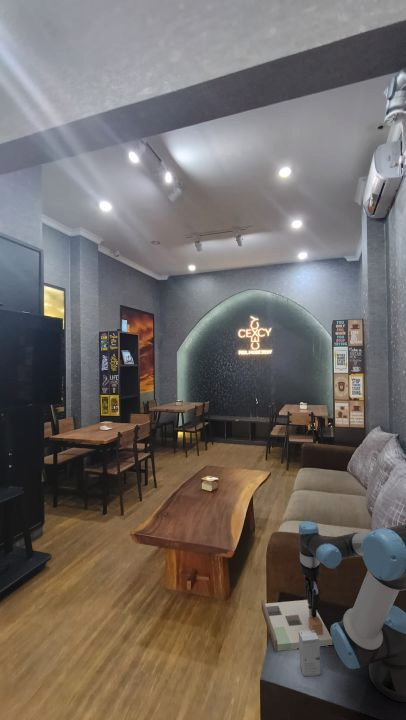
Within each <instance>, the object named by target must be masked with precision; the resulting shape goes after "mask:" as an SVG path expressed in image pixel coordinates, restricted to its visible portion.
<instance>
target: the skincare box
mask: <svg viewBox="0 0 406 720" xmlns="http://www.w3.org/2000/svg"><path fill="white" fill-rule="evenodd" d="M298 650H299V651H298V654H299V668H300V669H301V672H302V674H303V676H304V677H312V676H313V677H314V676H320V675H321V657H320V650H321V649H320V647H319V638H318V636H317V634H316V632H315V630H312V631H299V649H298Z"/></svg>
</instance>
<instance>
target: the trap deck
mask: <svg viewBox="0 0 406 720" xmlns="http://www.w3.org/2000/svg"><path fill="white" fill-rule="evenodd" d="M260 601H261V612H262V615H263V617H264V620H265V624H266V627H267V631H268V634H269V635H270V634H271V637H270V639H271V638H272V640H271V643H272V642H273V643H272V645H274V646H273V649H274V652H281V650H285V651H290V650H289V649H295V648H299V631H310V629H309V618H308V617H309V608H308V605H309V604H308V602H307V601H308V600H307V599H303V600H292V601H291V600H290V601H280V602H268V603H265V601H264V599H263V600H262V599H261V600H260ZM317 616H318V617H319V618H320V620H321V622H322V625H323V634H322V635H317V636H318V638H319V646H321V645H334V644H333V641H332V637H331V633H330V632H329V631H328V629H327V627H326V625H325V623H324V622H323V619H322V618H321V616H320V614H319V612H318V611H317ZM295 650H296V649H295Z"/></svg>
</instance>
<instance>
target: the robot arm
mask: <svg viewBox="0 0 406 720" xmlns="http://www.w3.org/2000/svg"><path fill="white" fill-rule="evenodd" d="M319 532H320V530H319V525H318V524H317V523H315V522H313V521H311V520H310V521H309V520H306V521H305V520H304V521H301V522H300V523H299V525H298V542H299V543H298V545H299V561H300V572H301V574H302V577H303V584H304V592H305V600H308V601H307V602H308V604H309V605H308V608H309V617H317V612H318V611H319V610H320V595H321V589H319V588H318V577H320V575H321V564H323V565H324V566H325V567H326V568H328V569H336V568H337V566H340V564H341V562H342V560H345V559H350V558H354V557H355V558H356V557H361V558H362V560H363V562H364V565H365V566H366V568H367V571H366V575H365V576H364V579H363V582H362V584H361V586H360V589H359V592H358V594H357V597H356V599H355V602H354V605H353V607H350V608H349V609H347V610H346V611H345V613H344V615H343V617H342V619H341V621H339V622H335V623H333V624H331V626H330V636H331V638H332V643H333V645H334V649H335V651H336V653H337V655H338V656H339V657H338V658H339V659H340V660H341V662H342V663H343V664H344V665H345V666H346V667H347V668H348V669H350V670H354V669H360V668H362V667H364V666H365V667H366V666H368V673H369V678H370V681H371V683H372V684H373V685H374V687H375V688H376V690H378V691H379V692H380V693H381V694H382V695H384V696H386V697H387V698H388V699H391V700H393V701H396V702H400V703H406V612H405V611H404V610H402V609H401V608H400V607H398V606H397V605H396V606H395V605H394V603H395V601H396V598H397V596H398V594H399V592H400V591H405V590H406V523H405V524H399V525H395V526H389V527H386V528H385V527H382V528H377V529H374V530H373V531H368V532H362V531H360V532H352V533H348V534H344V535H338V536H334V537H329V538H325V537H324V536H322V535H321V534H319Z"/></svg>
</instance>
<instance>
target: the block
mask: <svg viewBox="0 0 406 720" xmlns="http://www.w3.org/2000/svg"><path fill="white" fill-rule="evenodd" d="M308 618H309V629H310V631H312V630H315V632H316V634H317V635H322V634H323V625H322V622H321V620H320V618H319V617H318V616H317V617H308Z"/></svg>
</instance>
